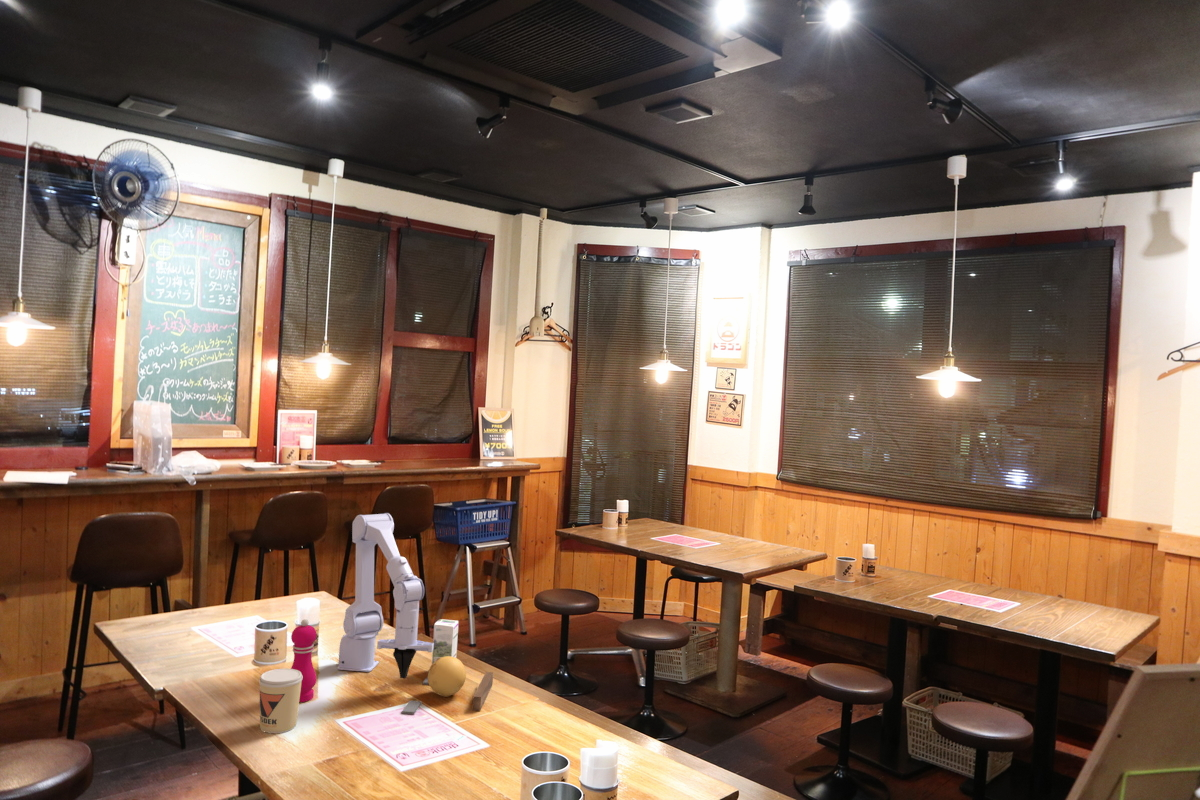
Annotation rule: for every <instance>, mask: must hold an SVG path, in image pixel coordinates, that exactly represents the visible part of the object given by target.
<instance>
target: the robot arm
mask: <svg viewBox="0 0 1200 800" xmlns="http://www.w3.org/2000/svg"><path fill="white" fill-rule="evenodd" d="M351 525H352V527H351V528H352V529H351V530H352V531H351V532H352V533H351V534H352V537H351V538H352V543H354V544H355V586H354V587H355V590H354V592H355V593H354V594H355V599H354V601H353V603H351V604H350V605H349V606H348V607H347V608H346V609H345V615H344V619H343V622H342V623H343V626H342V628H343V631H344V633H345V634H344V635H343V636H342V637H341V638H340V639H341V640H340V642H339V649H338V650H339V651H338V664H337V665H338V667H337V668H336V669H337V670H339V671H340V670H341V671H353V672H367V673H369V672H372V671H373V669H375V667H377V666H378V664H379V663H380V662H379V661H378V660H375V657H376V656H375V654H376V649H377V650H382V649H388V650H389V649H390V650H393V653H392V656H393V658H394V659H395V661H396V665H397V668H398V672H399V678H400V679H406V678H407V677H408V674H409V669H410V667H411V664H412V661H413V659H414V657H415V655H416V653H417V651H419V652H420V651H421V652H428V653H433V648H434V643H433V642H429V641H422V640H418V629H419V628H418V627H419V614H420V612H419V611H420V601H422V600H423V599H424V596H425V586H424V583H423V580H422V579H421V578H418V576H417V575H414V573H413V570H412V568H411V566H410V563H409V561H408V560H407V558H406V557H404V556H401V554H400V552H399V548H398V546H397V543H396V540H395V537H394V534H393V533H394V529H395V523H394V518H393V517H392V515H391V514H390V513H389V512H384V513H378V514H377V513H375V514H373V513H372V514H358V515H356V516H355V518H354V520H353V521H352V524H351ZM376 545H378V547H379V548H380V550H381V552H382V554H383V556H384V557H385V559H386V561H387V564H386V567H385V568H386V571H387V573H388V575H389V577H390V580H391V583H392V584H393V587H394V588H393V590H392V594H393V599H394V608H395V609H396V612H395V614H396V615H395V616H396V618H395V630H394V631H395V633H394V638H390V639H382V638H381V639H379V640H377V645H376V638H377V637H376V636H379V632H381V630H382V628H383V626H384V616H383V612H382V606H381V605H380V604H379V603H377V602H376V601H375V546H376ZM376 646H377V647H376Z"/></svg>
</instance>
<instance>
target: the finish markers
mask: <svg viewBox="0 0 1200 800" xmlns="http://www.w3.org/2000/svg"><path fill="white" fill-rule="evenodd" d="M422 684H423V685H424V686H425V685H426V686H430V685H429V684H428V676H427V677H425V679H424V680H423V682H422ZM421 705H422V701H421V700H408V703H407V704H406V705H405V706H404V708H403V709H402V711H401V714H403V715H415V714H416V712H417V710H419V708H420V706H421Z"/></svg>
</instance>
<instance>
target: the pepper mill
mask: <svg viewBox="0 0 1200 800" xmlns="http://www.w3.org/2000/svg"><path fill="white" fill-rule="evenodd" d="M300 624H301V625H299V626H296V628H294V629H293V630H292V632H291V636H290V637H291V638H290V639H291V641H292V643H293V645H292V652H293V654H294V657H293V661H292V662H293V663H292V665H291V668H290V669H295V670H298V671H300V672H301V674H302V676H303V679H302V682H301V691H300V699H299V702H302V703H306V702H305V701H307V702H309V700H310V701H311V700H312V699H314V694H315V691H314V689H313V688H314V687H315V686H316V685H317V674H316V673H317V672H316V671H315V668H314V665H313V661H312V653H313V651H314V649H315V648H314V646H315V645H314V642H315V641H316V639H317V637H318V636H317V634H318V633H317V630H316V629H315V627H314V626H312V625H309V621H308V619H302V620H301V622H300Z"/></svg>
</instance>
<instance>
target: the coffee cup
mask: <svg viewBox="0 0 1200 800" xmlns="http://www.w3.org/2000/svg"><path fill="white" fill-rule="evenodd" d="M302 679H303V676H302V674H301V672H300V671H298V670H295V669H291V668H276V669H271V670H267V671H265V672H263V673H262V674H261V675H260V677H259V680H258V682H259V683H258V684H259V726H260V727H259V728H260V730H261V732H263V731H265V732H268V733H267V734H271V733H276V734H284V733H286V732H290V731H292V730H293V729H295V728H296V725H297V721H298V713H299V706H300V705H299V704H300V703H299V699H300V691H301V682H302ZM294 727H295V728H294ZM265 732H264V733H265ZM283 732H284V733H283Z"/></svg>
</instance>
